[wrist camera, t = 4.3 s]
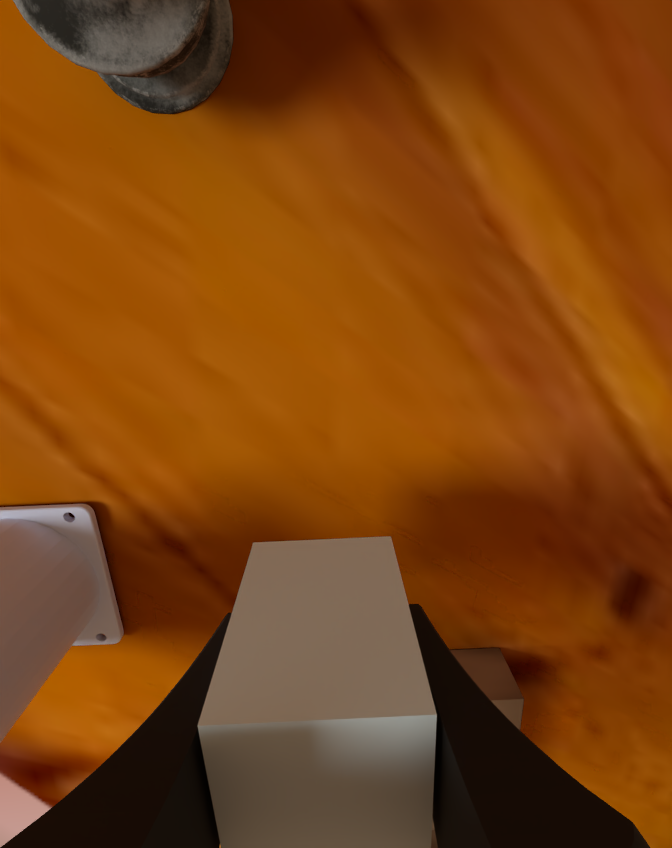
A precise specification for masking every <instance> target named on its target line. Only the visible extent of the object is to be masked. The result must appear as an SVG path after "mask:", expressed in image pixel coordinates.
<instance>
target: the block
mask: <svg viewBox="0 0 672 848" xmlns="http://www.w3.org/2000/svg"><path fill="white" fill-rule="evenodd" d="M436 722H437V714H436V710H435V706H434V702H433V698H432V694H431V690H430V686H429V682H428V679H427V675H426V671H425V667H424V663H423V659H422V655H421V651H420V647H419V644H418V640H417V636H416V632H415V628H414V624H413V620H412V616H411V613H410V609H409V605H408V601H407V597H406V593H405V589H404V585H403V581H402V578H401V574H400V570H399V566H398V562H397V558H396V554H395V550H394V546H393V543H392V539H391V536H385V537H363V538H341V539H319V540H297V541H275V542H253V545H252V548H251V552H250V555H249V558H248V562H247V565H246V568H245V571H244V575H243V578H242V581H241V585H240V588H239V591H238V594H237V598H236V601H235V604H234V608H233V611H232V614H231V617H230V621H229V624H228V627H227V631H226V634H225V637H224V640H223V644H222V647H221V650H220V654H219V657H218V660H217V663H216V667H215V670H214V673H213V677H212V680H211V683H210V686H209V690H208V693H207V696H206V700H205V703H204V706H203V709H202V713H201V716H200V719H199V723H198V731H199V736H200V742H201V747H202V752H203V757H204V762H205V767H206V773H207V778H208V783H209V788H210V793H211V798H212V803H213V809H214V814H215V819H216V824H217V829H218V834H219V840H220V845H221V848H431V837H432V814H433V791H434V768H435V745H436Z"/></svg>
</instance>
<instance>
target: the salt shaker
mask: <svg viewBox="0 0 672 848" xmlns="http://www.w3.org/2000/svg"><path fill="white" fill-rule="evenodd" d="M13 1H14V3H15V4H16V6H17V8H18V9H19V11H20V13H21V14H22V16H23V18H24V19H25V20H26V21H27V22H28V23H29V25H30V26H31V27H32V28H33V29H34V30H35V31H36V32H37V33H38V34H39V35H40V36H41V38H42V39H43V40H44V41H45V42H46V43H47V44H48V45H49V46H50V47H52V48H53V49H54V50H56V51H57V52H59V53H60V54H62V55H63V56H65V57H66V58H68V59H69V60H71V61H72V62H73V63H75V64H76V65H79V66H82V67H85V68H87V69H90V70H93V71H96V72H97V73H98V74H99V76H100V77H101V78H102V79H103V80H104V81H105V82H106V83H107V84H108V86H109V87H110V88H111V89H112V90H113V91H114V92H115V93H116V94H117V95H119V96H120V97H122V98H123V99H124V100H126V101H127V102H129V103H130V104H132V105H133V106H135V107H138V108H141V109H143V110H146V111H149V112H152V113H163V114H174V113H178V112H182V111H186V110H189V109H192V108H193V107H195V106H196V105H198V104H199V103H201V102H202V101H204V100H206V99H207V98H208V97H209V95H210V94H211V93H212V92H213V91H214V89H215V88H216V87H217V86H218V85H219V84H220V82H221V79H222V77H223V75H224V73H225V71H226V68H227V66H228V64H229V60H230V55H231V49H232V44H233V16H232V12H231V7H230V3H229V0H13Z"/></svg>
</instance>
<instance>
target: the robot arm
mask: <svg viewBox="0 0 672 848" xmlns="http://www.w3.org/2000/svg"><path fill="white" fill-rule="evenodd" d="M69 513H72V514H73V515H74V516H75V518H72V517H71V516H70V515H69ZM408 605H409V609H410V613H411V616H412V620H413V624H414V628H415V632H416V636H417V640H418V644H419V647H420V651H421V655H422V659H423V663H424V667H425V671H426V675H427V679H428V682H429V686H430V690H431V694H432V698H433V702H434V706H435V710H436V714H437V722H436V745H435V768H434V791H433V814H432V817H433V822H434V828H435V834H436V840H437V845H438V848H650V847H649V845H648V844H647V842H646V841H645V839H644V838H643V836H642V835H641V834H640V832H639V831H638V829H637V828H636V826H635V825H634V824H633V822H632V821H630V820H629V819H627V818H626V817H625V816H623V815H622V814H621V813H619V812H618V811H617V810H615V809H614V808H612V807H611V806H610V805H608V804H607V803H606V802H604V801H603V800H602V799H600V798H599V797H597V796H596V795H595V794H593V793H592V792H591V791H589V790H588V789H587V788H585V787H584V786H583V785H581V784H580V783H579V782H578V781H577V780H575V779H574V778H573V777H572V776H570V775H569V774H568V773H567V772H566V771H564V770H563V769H562V768H561V767H560V766H558V765H557V764H556V763H555V762H554V761H553V760H552V759H551V758H549V757H548V756H547V755H546V754H545V753H544V752H543V751H542V750H541V749H539V748H538V747H537V746H536V745H535V744H534V743H533V742H532V741H530V740H529V739H528V738H527V737H526V736H525V735H524V734H523V733H522V732H521V731H520V730H519V729H518V728H517V727H516V726H515V725H514V724H513V723H512V722H511V721H510V720H509V719H508V718H507V717H506V716H505V715H504V714H503V713H502V712H501V711H500V710H499V709H498V708H497V707H496V706H495V705H494V704H493V702H492V701H491V700H490V699H489V698H488V697H487V696H486V695H485V693H484V692H483V691H482V690H481V689H480V688H479V687H478V685H477V684H476V683H475V682H474V681H473V679H472V678H471V677H470V676H469V675H468V673H467V672H466V671H465V670H464V668H463V667H462V666H461V664H460V663H459V662H458V660H457V659H456V658H455V656H454V655H453V654H452V652H451V651H450V650H449V648H448V647H447V646H446V644H445V643H444V641H443V640H442V639H441V637H440V636H439V634H438V633H437V631H436V630H435V628H434V627H433V625H432V624H431V622H430V620H429V619H428V617H427V615H426V614H425V612H424V610H423V609H422V607H421V606H420V605H419V604H408ZM231 614H232V613H228V614H227V615H226V616H225V618H224V619H223V621H222V622H221V624H220V625H219V627H218V628H217V630H216V631H215V633H214V634H213V636H212V637H211V639H210V640H209V641H208V643H207V644H206V646H205V647H204V649H203V650H202V651H201V653H200V654H199V655H198V657H197V658H196V659H195V661H194V662H193V664H192V665H191V666H190V668H189V669H188V670H187V672H186V673H185V674H184V675H183V677H182V678H181V679H180V680H179V682H178V683H177V684H176V685H175V687H174V688H173V689H172V690H171V692H170V693H169V694H168V695H167V696H166V698H165V699H164V700H163V701H162V702H161V704H160V705H159V706H158V707H157V708H156V709H155V710H154V712H153V713H152V714H151V715H150V716H149V717H148V718H147V719H146V720H145V722H144V723H143V724H142V725H141V726H140V727H139V728H138V729H137V730H136V731H135V732H134V733H133V734H132V735H131V736H130V737H129V738H128V739H127V740H126V741H125V742H124V743H123V744H122V745H121V746H120V747H119V748H118V749H117V750H116V751H115V752H114V753H113V754H112V755H111V756H110V757H109V758H108V759H107V760H106V761H105V762H104V763H103V764H102V765H101V766H100V767H99V768H98V769H96V770H95V771H94V772H93V773H92V774H91V775H90V776H89V777H87V778H86V779H85V780H84V781H83V782H82V783H81V784H79V785H78V786H77V787H76V788H75V789H74V790H72V791H71V792H70V793H69V794H68V795H67V796H66V797H64V798H63V799H62V800H61V801H60V802H58V803H57V804H56V805H55V806H54V807H52V808H51V809H50V810H49V811H47V812H46V813H45V814H44V815H42V816H41V817H40V818H39V819H37V820H36V821H35V822H33V823H32V824H31V825H29V826H28V827H27V828H25V829H24V830H23V831H22V832H20V833H19V834H18V835H16V836H15V837H14V838H12V839H11V840H10V841H9V842H7V843H6V844H5V845H3V846H2V847H0V848H219V846H220V840H219V834H218V829H217V824H216V819H215V814H214V809H213V803H212V798H211V793H210V788H209V783H208V778H207V773H206V767H205V762H204V757H203V752H202V747H201V742H200V736H199V731H198V723H199V719H200V716H201V713H202V709H203V706H204V703H205V700H206V696H207V693H208V690H209V686H210V683H211V680H212V677H213V673H214V670H215V667H216V663H217V660H218V657H219V654H220V650H221V647H222V644H223V640H224V637H225V634H226V631H227V627H228V624H229V621H230V617H231ZM103 634H104V635H103ZM123 635H124V630H123V626H122V622H121V618H120V614H119V610H118V605H117V601H116V597H115V593H114V589H113V585H112V581H111V577H110V573H109V569H108V565H107V561H106V557H105V552H104V548H103V544H102V540H101V536H100V532H99V528H98V524H97V520H96V516H95V512H94V510H93V509H92V508H91V507H90V506H89V505H87V504H62V505H40V506H17V507H0V743H1V741H2V740H3V739H4V737H5V736H6V734H7V733H8V732H9V730H10V729H11V728H12V726H13V725H14V724H15V722H16V721H17V719H18V718H19V717H20V715H21V714H22V713H23V711H24V710H25V709H26V707H27V706H28V704H29V703H30V702H31V700H32V699H33V698H34V696H35V695H36V694H37V692H38V691H39V689H40V688H41V687H42V685H43V684H44V683H45V681H46V680H47V679H48V677H49V676H50V675H51V673H52V672H53V670H54V669H55V668H56V666H57V665H58V664H59V662H60V661H61V660H62V658H63V657H64V655H65V654H66V653H67V651H68V650H69V649H70V647H71V646H79V645H101V644H115V643H118V642H119V641H120V640H121V638H122V637H123Z"/></svg>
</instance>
